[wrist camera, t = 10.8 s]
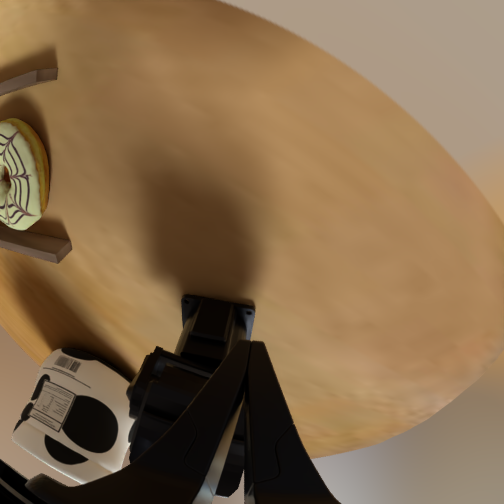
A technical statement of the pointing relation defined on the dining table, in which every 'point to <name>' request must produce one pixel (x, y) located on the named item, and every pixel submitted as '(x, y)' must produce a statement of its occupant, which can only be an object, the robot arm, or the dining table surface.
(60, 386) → the milk container
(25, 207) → the decorated donut
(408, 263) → the dining table surface
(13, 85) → the u-shaped brown rail
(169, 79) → the dining table surface
